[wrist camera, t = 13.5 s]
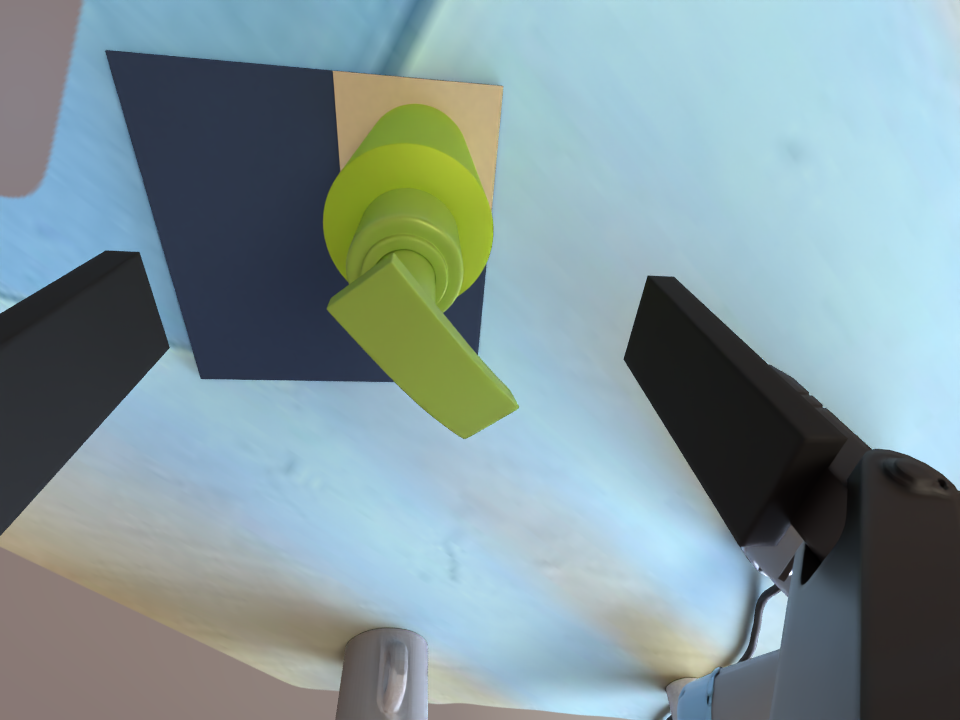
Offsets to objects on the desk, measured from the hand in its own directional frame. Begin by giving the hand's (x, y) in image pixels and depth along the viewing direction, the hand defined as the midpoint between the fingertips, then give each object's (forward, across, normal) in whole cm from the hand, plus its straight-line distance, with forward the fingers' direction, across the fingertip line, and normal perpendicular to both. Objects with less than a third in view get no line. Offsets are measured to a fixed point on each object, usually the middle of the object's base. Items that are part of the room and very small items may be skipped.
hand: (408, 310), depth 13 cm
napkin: (+18, +6, +5) cm, 20 cm away
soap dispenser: (+18, 0, 0) cm, 18 cm away
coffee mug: (+19, +3, +54) cm, 57 cm away
